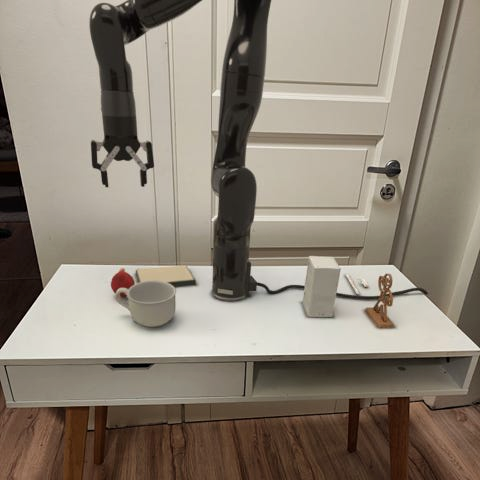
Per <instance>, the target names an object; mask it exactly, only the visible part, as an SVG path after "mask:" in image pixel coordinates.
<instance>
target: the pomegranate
mask: <svg viewBox="0 0 480 480" xmlns="http://www.w3.org/2000/svg"><path fill="white" fill-rule="evenodd" d="M135 284H136V283H135V279H134V278H133V276H132V275H131V274H129V273H128V272H126V269H125V268H124V267H122V268H120V269H119V270H118V272H117V273H115V274H114V275H113V276H112V278H111V281H110V287H111V290H112V292H113V293H114V294H115V293H116V291H117V290H118V289H119V288H127V289H129V288H130V287H132V286H133V285H135ZM120 296H121V298H122V299H125V298H128V297H127V295H126V294H125V293H120Z"/></svg>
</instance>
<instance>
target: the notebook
mask: <svg viewBox="0 0 480 480" xmlns="http://www.w3.org/2000/svg"><path fill="white" fill-rule="evenodd" d="M135 276H136V279H137V283H139V282H143V281H151V280H154V281H164V282H167V283H169V284H171V285H172V286H174V288H177V287H189V286H196V284H197V283H196V281H197V280H196V279H195V277H194V275H193V273H192V272H191V270H190V268H189V267H188V265H187V264H186V265H185V264H184V265H174V266H161V267H160V266H159V267H149V268H136V269H135Z"/></svg>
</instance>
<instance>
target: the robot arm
mask: <svg viewBox="0 0 480 480" xmlns="http://www.w3.org/2000/svg"><path fill="white" fill-rule="evenodd" d="M202 1H203V0H126V1H125V0H124V2H122V3H120V4H118V5H113V4H111V3H108V2H100V3H97V4H95V5H94V6H93V8H92V9H91V12H90V14H89V19H88V20H89V34H90V40H91V43H92V47H93V52H94V56H95V60H96V62H97V66H98V75H99V87H100V111H101V118H102V119H101V120H102V126H103V127H102V128H103V129H102V130H103V141H101V140H100V141H98V140H95V139H92V140H91V141H90V155H91V167H92V168H93V169H96V170H98V171H99V172H100V179H101V184H102V185H103V186H105V188H109V178H108V177H109V176H108V170H107V169H108V168H109V166H110V165H111V163H112V162H113V160H114V161H116V162H121V161H126V162H131V161H132V160H133V161H134V162H135V163H136V164H137V166H138V167H139V168H140V169H139V179H140V180H139V181H140V187H142V188H144V187H145V185H147V184H148V175H147V172H148V170H151V169H153V168H154V167H155V161H154V153H153V144H152V142H151V141H150V140H146V141H140V140H139V137H138V121H137V120H138V119H137V107H136V100H135V94H134V80H133V70H132V66H131V63H130V62H129V61H128V59H127V55H126V47H125V46H126V45H128V44H131V43H133V42H135V41H136V40H138V39H140V38H141V37H143V36H144V35H146V33H148V32H149V31H151V30H153V29H156V28H159V27H161V26H163V25H166V24H167V23H170V22H171V21H175V19H179V17H181V16H183V15H185V14H186V13H188V12H189V11H191V10H192V9H194V7H196V6H197V5H198V4H200V3H201V2H202ZM271 4H272V0H234V1H233V15H232V22H231V27H230V31H229V34H228V38H227V42H226V47H225V51H224V54H223V60H222V66H221V67H222V68H221V77H220V89H219V107H218V108H219V109H218V125H217V127H218V128H217V139H216V147H215V152H214V158H213V162H212V168H211V175H210V186H211V189H212V191H213V193H214V195H215V196H216V197H217V198H218V205H217V206H218V207H217V217H215V218H214V219H213V224H212V225H213V229H212V230H213V231H212V285H211V288H212V289H211V295H212V296H213V297H214V298H216V299H218V300H221V301H226V302H235V301H240V300H243V299H245V298H247V297H248V298H249V297H250V293H251V292H257V288H258V287H261V288H263V289H264V290H265V291H266V293H268V294H271V295H276V294H279V293H282V292H284V291H287V290H289V289H302V290H304V288H305V285H302V284H289V285H285V286H283V287H281V288H278V289H277V290H271V289H270V288H269V286H268V285H266V284H265V283H263V282H259V281H257V280H256V279H255V277H254V276H253V275H252V262H251V261H250V260H249V259H250V244H251V230H252V229H251V228H252V225H253V223H254V220H255V214H256V205H257V204H256V203H257V191H258V186H257V179H256V176H255V174H254V172H252V170H250V169H249V168H248V167H246V160H247V159H246V158H247V157H246V156H247V145H248V139H249V136H250V133H251V131H252V128H253V125H254V124H255V122H256V119H257V116H258V114H259V111H260V108H261V104H262V100H263V93H264V85H265V77H266V67H267V51H268V23H269V16H270V10H271ZM102 147H103V148H104V150H105V151H106V153H107V154H106V155H105V157H104V159H103V161H102V162H101V163H99V162H98V152H100V151H101V149H102ZM141 148H142V150H143V151H144V152H146V153H145V154H146V162H143V161H142V159H141V158H140V157H139V156H138V155H137V153H138V151H139V150H140V149H141ZM391 292H392V291H391ZM413 292H421V293H423V294H424V295H429V292H428V291H427V290H426V289H425V288H422V287H411V288H408V289H404V290H399V291H398V290H397V291H393V292H392V295H393V297H394V296H399V295H404V294H408V293H413ZM386 296H389V298H390V295H389V293H387V294H385V297H386ZM336 297H341V298H346V299H353V300H379V298H380V295H357V294H347V293H342V292H341V293H340V292H337V293H336Z"/></svg>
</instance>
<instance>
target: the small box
mask: <svg viewBox="0 0 480 480" xmlns="http://www.w3.org/2000/svg"><path fill="white" fill-rule="evenodd" d="M306 267H307V268H306V275H305V281H304V286H305V288H304V289H303V296H302V305H303V307H304V310H305V314H306V316H307V317H311V318H332V317H333V315H334V310H335V303H336V299H337V296H336V293H338V286H339V282H340V275H341V274H340V273H341V267H340V266H339V264H338V262H337V261H336V259H335V258H334V256H322V255H321V256H320V255H319V256H318V255H309V256H308V260H307V266H306Z"/></svg>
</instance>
